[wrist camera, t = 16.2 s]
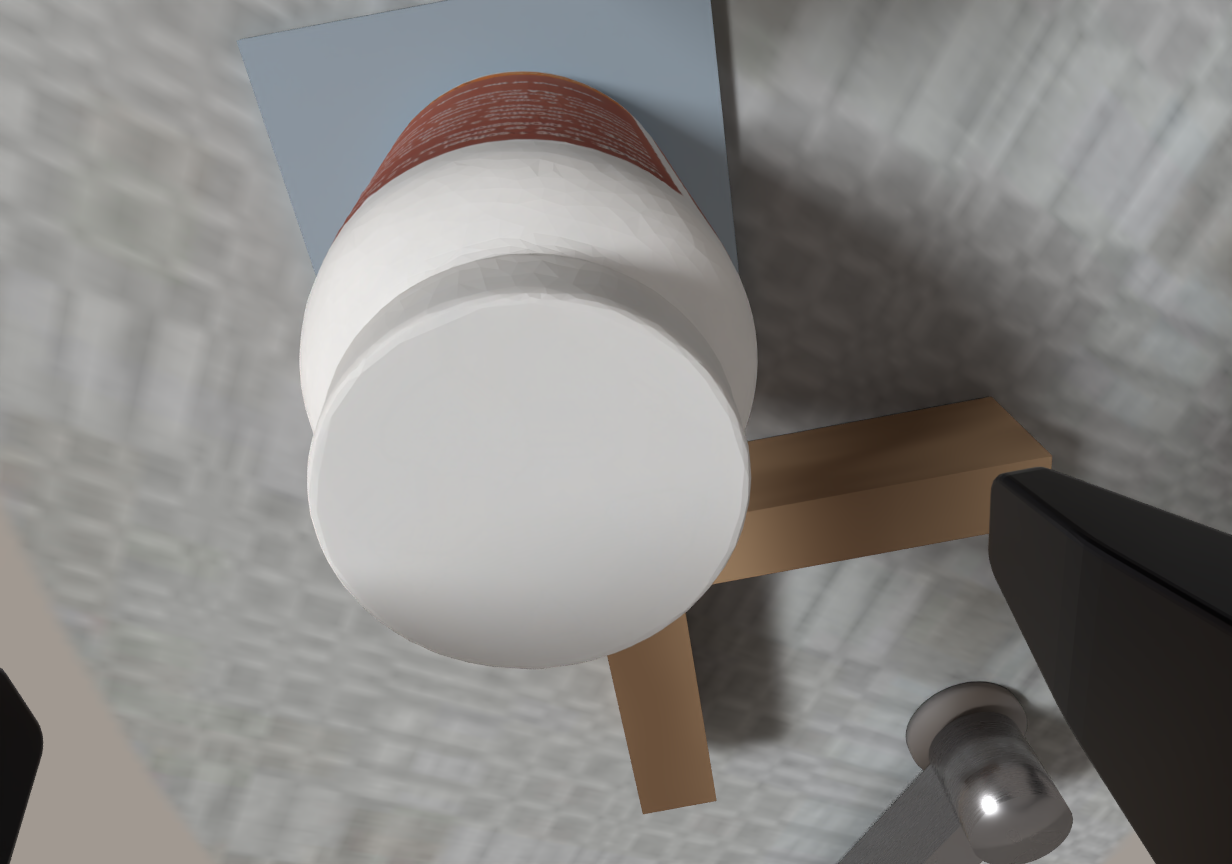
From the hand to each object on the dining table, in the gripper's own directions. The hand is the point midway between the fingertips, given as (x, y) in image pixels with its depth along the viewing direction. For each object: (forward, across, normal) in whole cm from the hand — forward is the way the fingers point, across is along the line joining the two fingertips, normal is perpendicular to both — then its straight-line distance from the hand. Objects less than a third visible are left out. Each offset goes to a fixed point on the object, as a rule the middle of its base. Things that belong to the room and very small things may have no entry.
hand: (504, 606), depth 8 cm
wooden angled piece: (+13, -6, +13) cm, 19 cm away
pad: (+13, 0, 0) cm, 13 cm away
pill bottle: (+13, 0, 0) cm, 13 cm away
